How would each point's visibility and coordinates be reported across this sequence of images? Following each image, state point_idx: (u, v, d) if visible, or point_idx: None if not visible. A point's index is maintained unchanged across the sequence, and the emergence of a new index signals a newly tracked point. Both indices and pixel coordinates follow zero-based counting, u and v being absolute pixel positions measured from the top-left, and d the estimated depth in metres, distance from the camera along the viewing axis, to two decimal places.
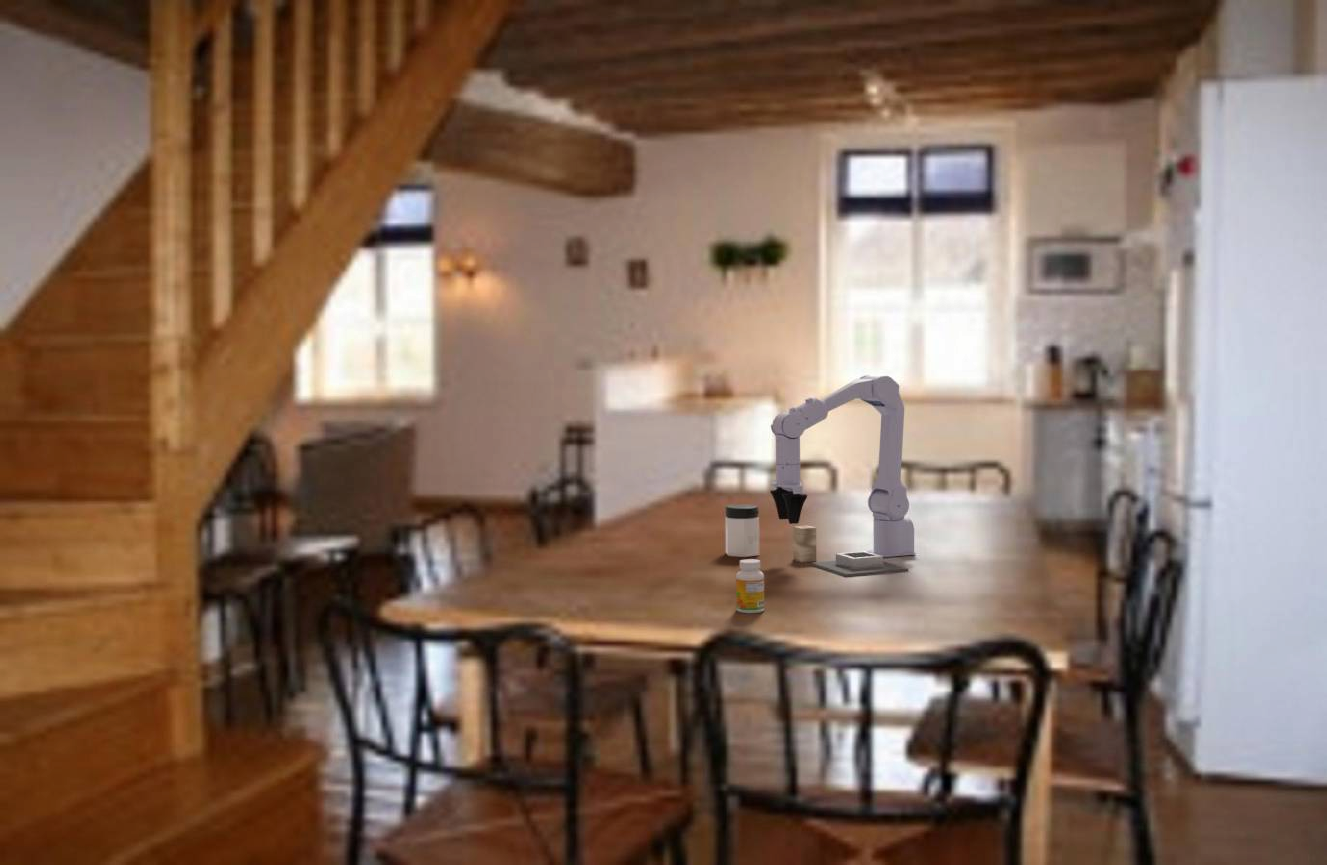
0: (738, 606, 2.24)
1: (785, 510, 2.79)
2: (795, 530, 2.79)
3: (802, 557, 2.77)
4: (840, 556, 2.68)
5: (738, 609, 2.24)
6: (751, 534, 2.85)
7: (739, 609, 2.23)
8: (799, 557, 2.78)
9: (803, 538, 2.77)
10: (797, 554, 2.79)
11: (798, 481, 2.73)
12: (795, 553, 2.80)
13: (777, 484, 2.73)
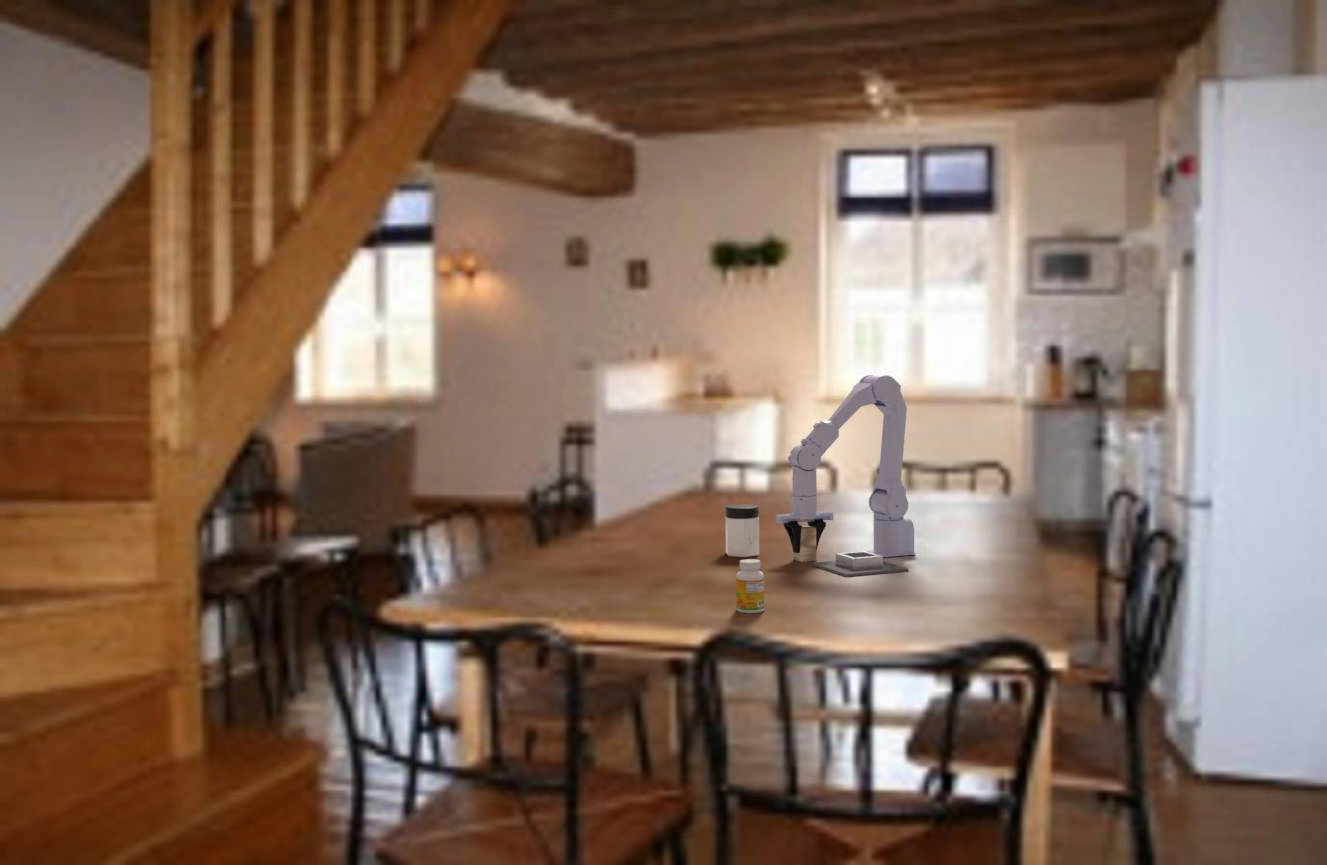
0: (738, 606, 2.24)
1: None
2: None
3: (802, 557, 2.77)
4: (840, 556, 2.68)
5: (738, 609, 2.24)
6: (751, 534, 2.85)
7: (739, 609, 2.23)
8: (799, 557, 2.78)
9: (803, 538, 2.77)
10: (797, 554, 2.79)
11: (800, 513, 2.77)
12: (795, 553, 2.80)
13: None
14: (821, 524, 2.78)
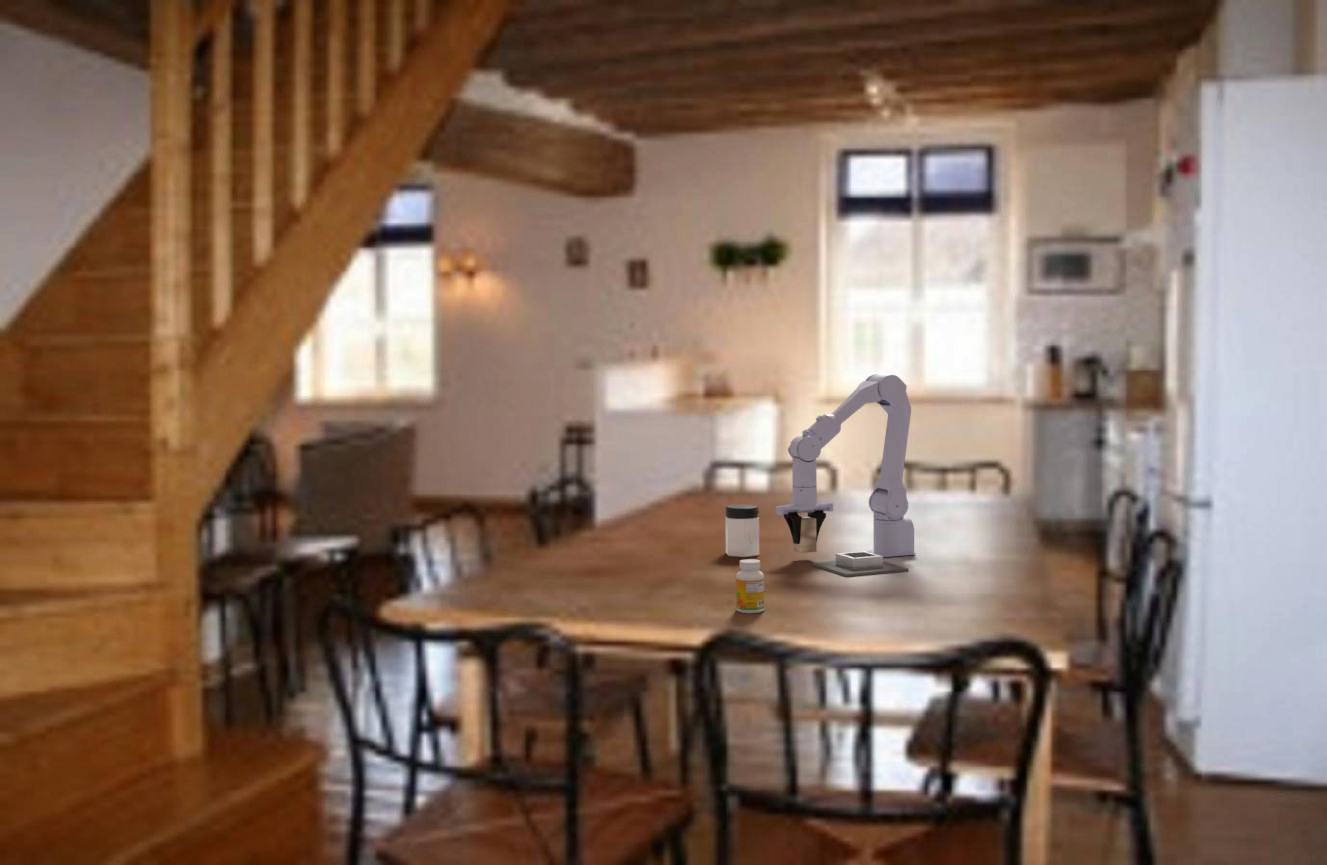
0: (738, 606, 2.24)
1: None
2: None
3: (803, 548, 2.77)
4: (840, 556, 2.68)
5: (738, 609, 2.24)
6: (751, 534, 2.85)
7: (739, 609, 2.23)
8: (799, 548, 2.78)
9: (803, 529, 2.77)
10: (797, 546, 2.79)
11: (800, 504, 2.76)
12: (795, 544, 2.80)
13: None
14: (821, 515, 2.78)
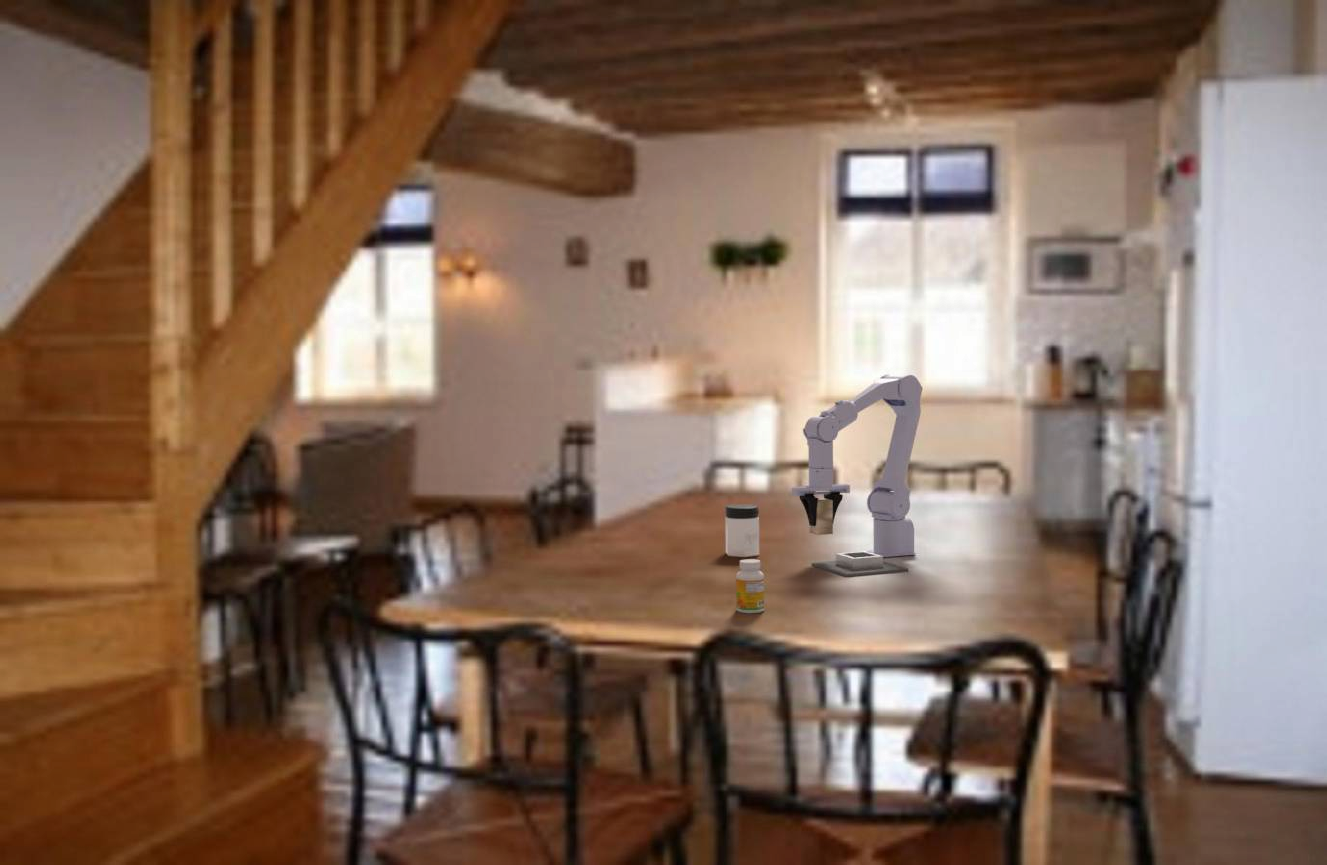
0: (738, 606, 2.24)
1: None
2: None
3: (819, 530, 2.73)
4: (840, 556, 2.68)
5: (738, 609, 2.24)
6: (751, 534, 2.85)
7: (739, 609, 2.23)
8: (815, 530, 2.74)
9: (819, 510, 2.73)
10: (813, 528, 2.75)
11: (816, 485, 2.72)
12: (811, 526, 2.76)
13: None
14: (838, 497, 2.74)
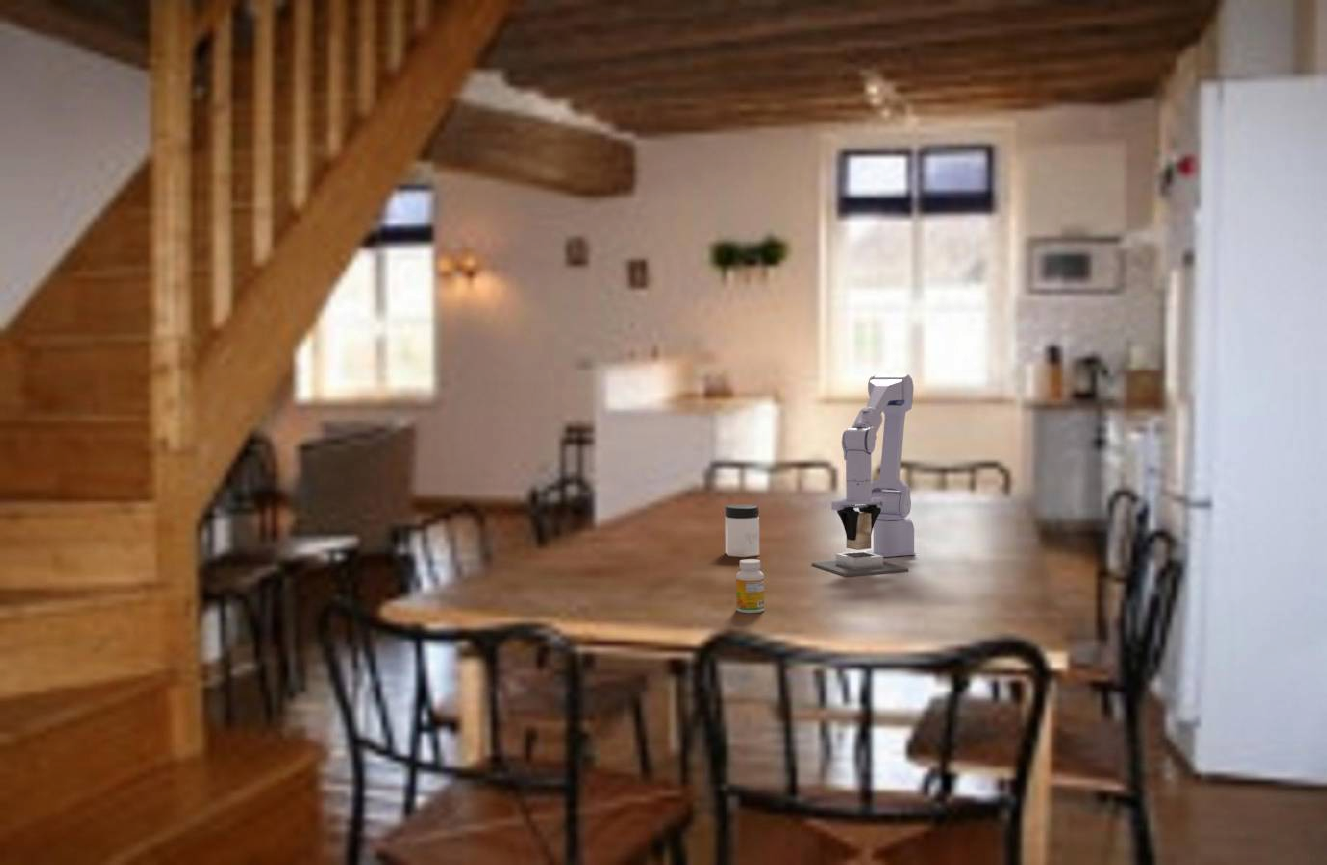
0: (738, 606, 2.24)
1: None
2: None
3: (859, 545, 2.65)
4: (840, 556, 2.68)
5: (738, 609, 2.24)
6: (751, 534, 2.85)
7: (739, 609, 2.23)
8: (855, 545, 2.66)
9: (859, 524, 2.65)
10: (852, 542, 2.67)
11: (856, 499, 2.64)
12: (849, 541, 2.67)
13: None
14: (877, 510, 2.66)
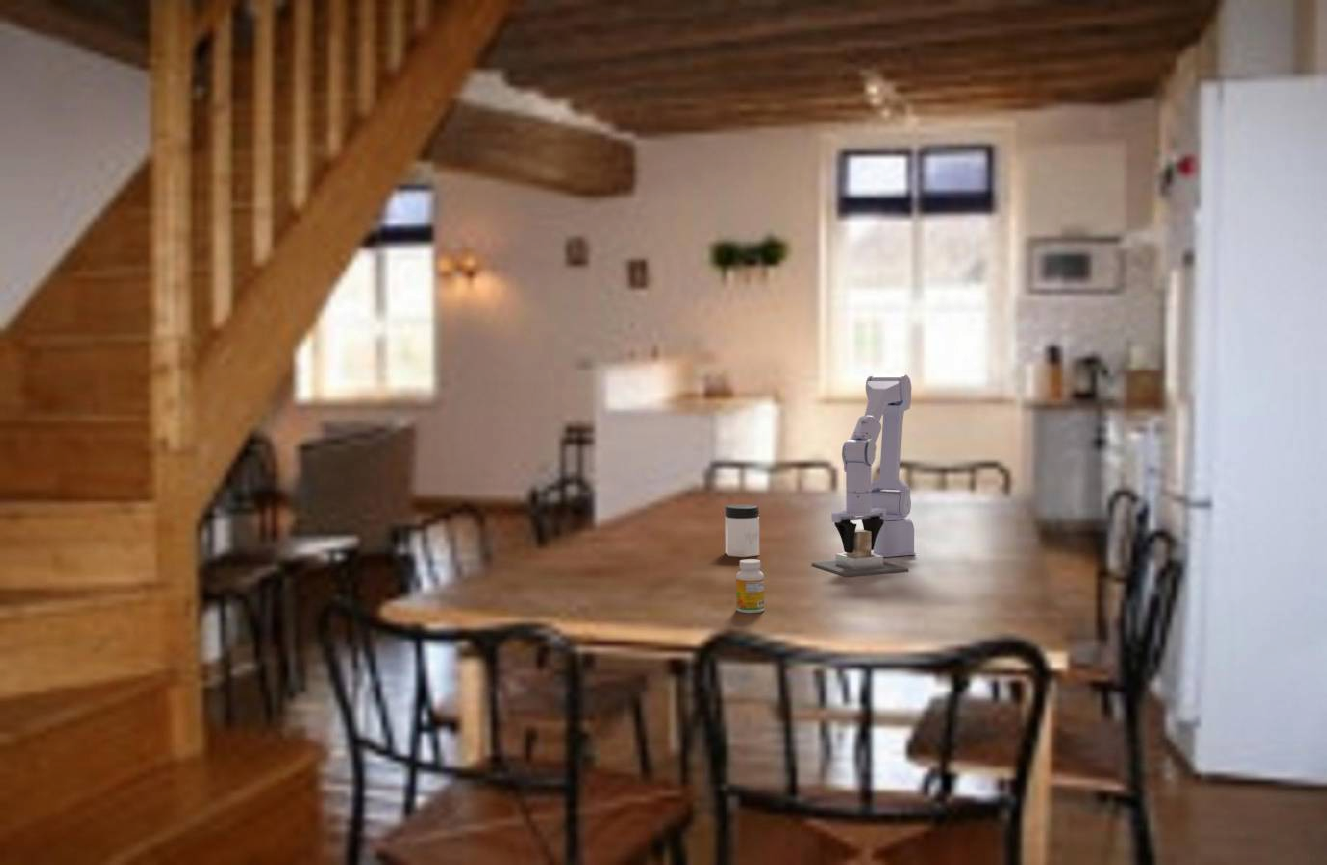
0: (738, 606, 2.24)
1: None
2: None
3: None
4: (840, 556, 2.68)
5: (738, 609, 2.24)
6: (751, 534, 2.85)
7: (739, 609, 2.23)
8: None
9: (859, 542, 2.65)
10: None
11: (856, 510, 2.64)
12: None
13: None
14: (880, 522, 2.67)
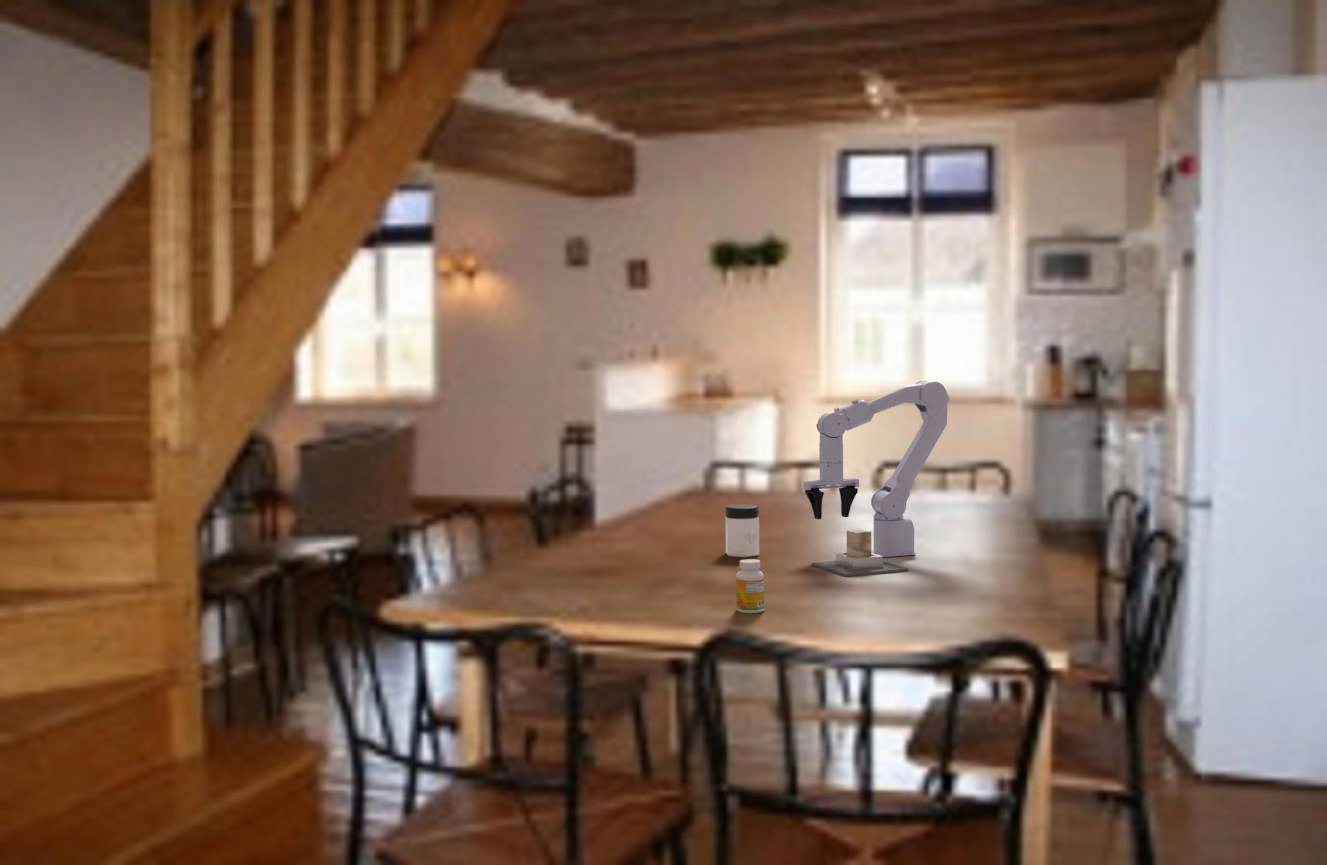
0: (738, 606, 2.24)
1: (845, 509, 2.85)
2: (849, 534, 2.67)
3: None
4: (840, 556, 2.68)
5: (738, 609, 2.24)
6: (751, 534, 2.85)
7: (739, 609, 2.23)
8: None
9: (859, 542, 2.65)
10: None
11: (827, 479, 2.81)
12: None
13: None
14: (853, 490, 2.83)
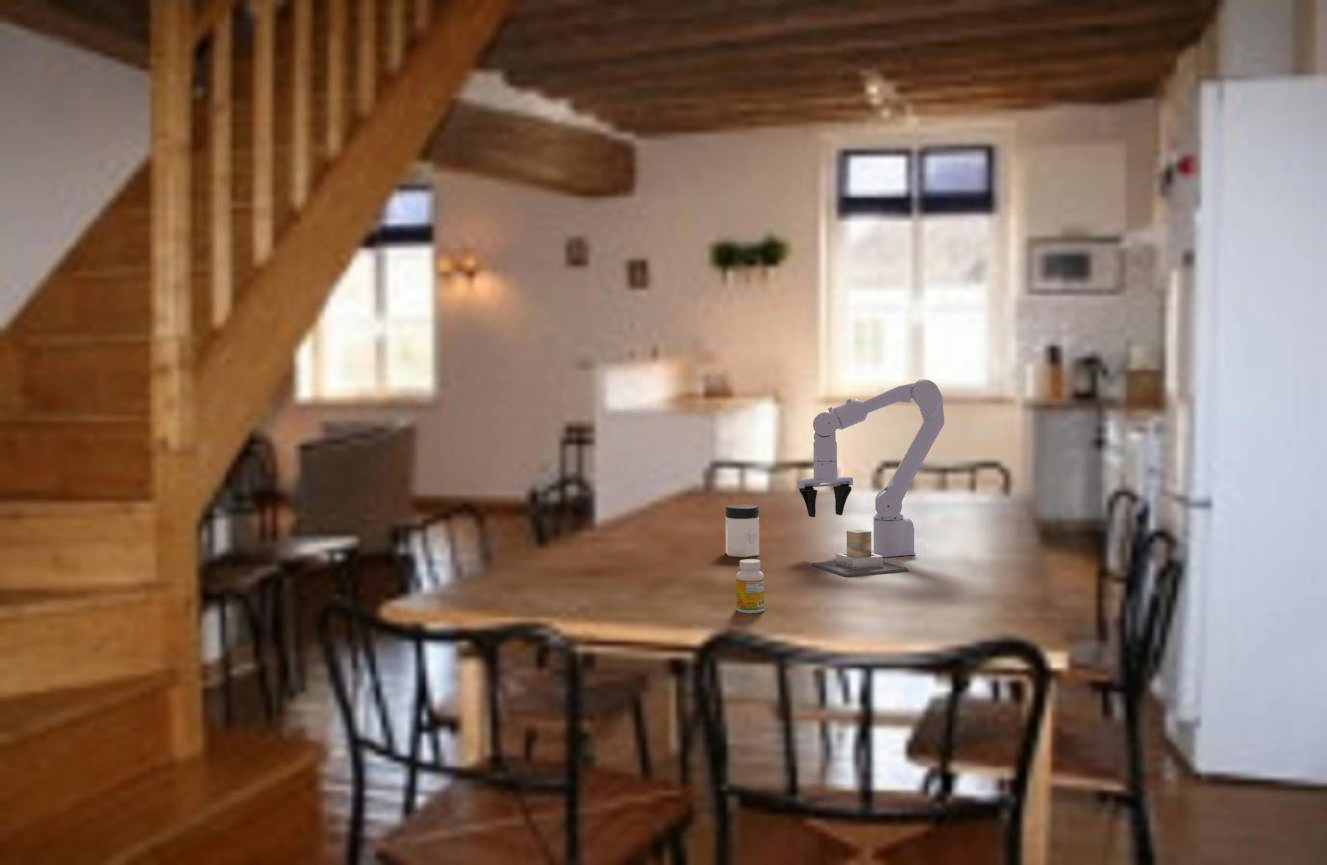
0: (738, 606, 2.24)
1: (839, 507, 2.89)
2: (849, 534, 2.67)
3: None
4: (840, 556, 2.68)
5: (738, 609, 2.24)
6: (751, 534, 2.85)
7: (739, 609, 2.23)
8: None
9: (859, 542, 2.65)
10: None
11: (821, 478, 2.85)
12: None
13: None
14: (847, 488, 2.87)
